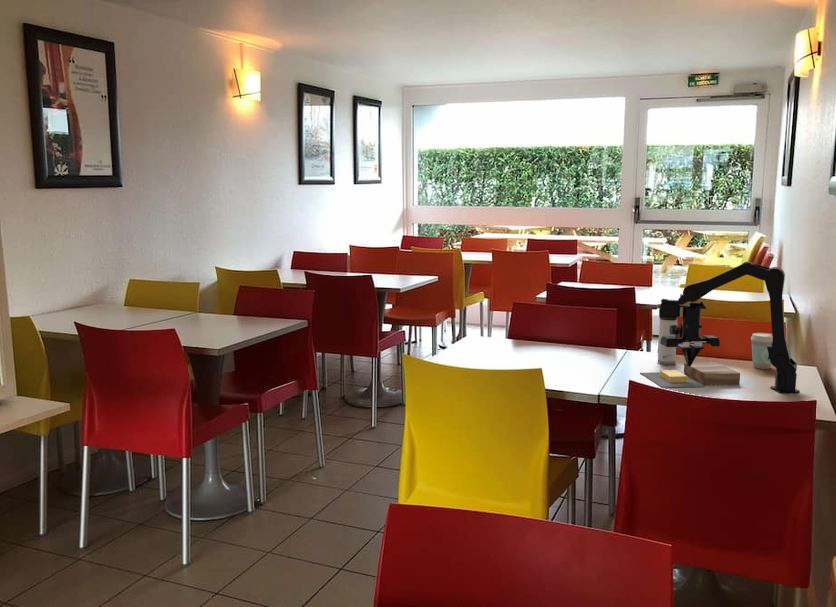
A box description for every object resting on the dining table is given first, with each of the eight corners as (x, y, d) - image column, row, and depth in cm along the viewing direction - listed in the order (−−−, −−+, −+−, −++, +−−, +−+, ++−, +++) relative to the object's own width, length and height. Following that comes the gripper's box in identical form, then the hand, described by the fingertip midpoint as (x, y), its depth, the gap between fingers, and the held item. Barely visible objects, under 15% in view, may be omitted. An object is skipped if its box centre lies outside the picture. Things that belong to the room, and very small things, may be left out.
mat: (704, 387, 244) (704, 386, 244) (662, 388, 243) (663, 387, 242) (678, 372, 263) (678, 371, 263) (640, 373, 262) (640, 372, 262)
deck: (739, 384, 247) (740, 373, 246) (704, 385, 246) (705, 373, 245) (716, 373, 262) (717, 362, 262) (683, 374, 261) (684, 362, 261)
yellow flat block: (670, 376, 248) (669, 382, 249) (687, 376, 249) (687, 382, 249) (659, 370, 257) (659, 375, 258) (676, 370, 258) (676, 375, 258)
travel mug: (665, 365, 274) (668, 312, 271) (654, 361, 280) (656, 309, 277) (679, 364, 276) (682, 311, 273) (667, 360, 282) (670, 308, 279)
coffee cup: (758, 370, 267) (760, 337, 265) (743, 364, 275) (745, 333, 273) (779, 369, 269) (782, 336, 267) (764, 363, 277) (766, 332, 275)
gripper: (707, 316, 259) (704, 360, 261) (655, 317, 258) (652, 361, 260) (722, 322, 248) (719, 367, 250) (668, 322, 247) (665, 368, 249)
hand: (688, 366), depth 253 cm, fingers closed
